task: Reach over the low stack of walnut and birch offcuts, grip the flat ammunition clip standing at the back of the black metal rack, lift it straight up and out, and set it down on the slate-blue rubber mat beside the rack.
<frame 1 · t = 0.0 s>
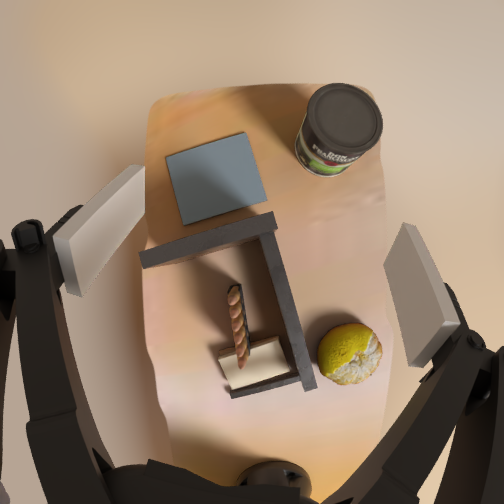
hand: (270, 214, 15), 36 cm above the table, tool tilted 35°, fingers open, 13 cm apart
ammunition clip: (240, 317, 52), on the table, touching offcut lower
rack: (240, 318, 51), on the table
coffee can: (324, 148, 51), on the table
fruit: (346, 350, 52), on the table
offcut upper: (254, 362, 50), point 1 cm above the table, tilted 6°, touching offcut lower
mat: (215, 178, 51), on the table
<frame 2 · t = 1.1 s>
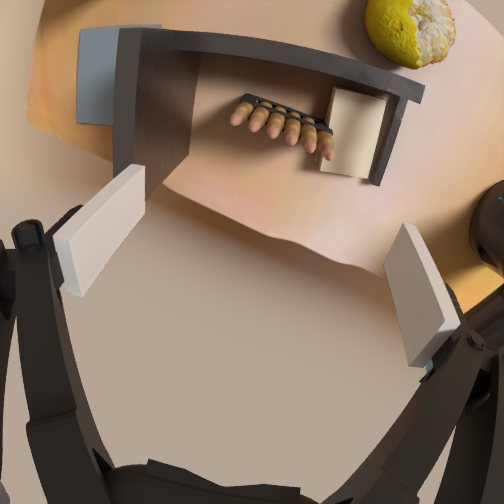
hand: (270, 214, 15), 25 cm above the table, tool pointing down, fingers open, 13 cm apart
ammunition clip: (286, 114, 35), on the table, touching offcut lower
rack: (287, 115, 35), on the table
fruit: (405, 24, 26), on the table
offcut upper: (350, 132, 34), point 1 cm above the table, tilted 6°, touching offcut lower
mat: (114, 75, 34), on the table
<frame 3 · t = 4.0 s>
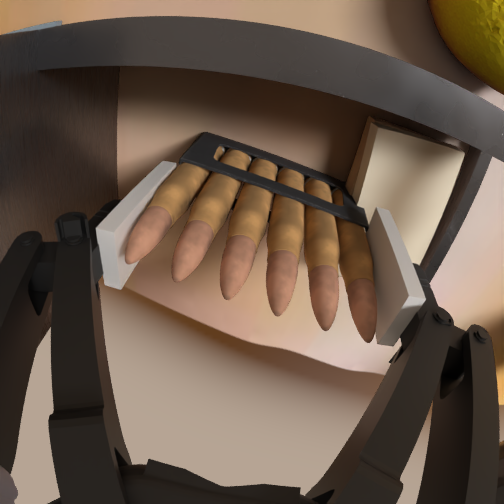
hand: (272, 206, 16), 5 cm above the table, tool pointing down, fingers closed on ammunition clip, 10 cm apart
ammunition clip: (278, 169, 20), on the table, touching gripper, offcut lower
offcut lower: (384, 198, 20), on the table, tilted 7°, touching ammunition clip, offcut upper
rack: (279, 172, 20), on the table
fruit: (489, 13, 11), on the table
offcut upper: (393, 207, 19), point 1 cm above the table, tilted 7°, touching offcut lower
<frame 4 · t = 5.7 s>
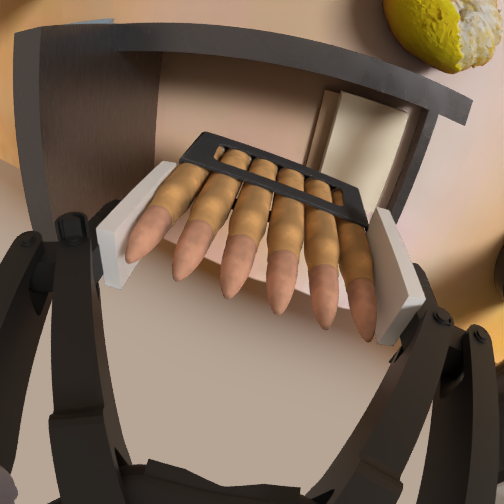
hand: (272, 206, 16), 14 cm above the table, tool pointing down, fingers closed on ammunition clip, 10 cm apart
ammunition clip: (278, 169, 20), point 8 cm above the table, touching gripper
offcut lower: (342, 147, 28), on the table
rack: (279, 132, 27), on the table
fruit: (434, 13, 18), on the table
offcut upper: (358, 151, 26), resting on offcut lower
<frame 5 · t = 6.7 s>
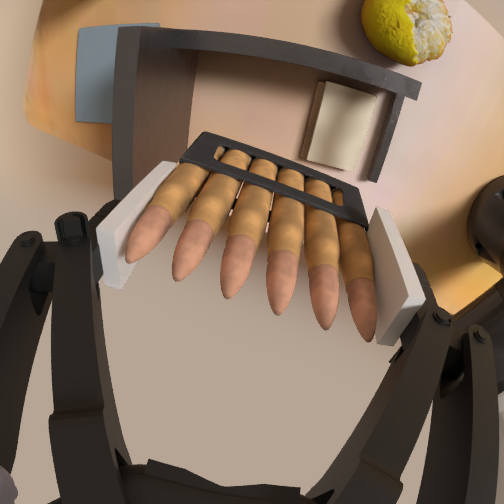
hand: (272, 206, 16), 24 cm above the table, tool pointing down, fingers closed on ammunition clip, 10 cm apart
ammunition clip: (278, 169, 20), point 19 cm above the table, touching gripper
offcut lower: (332, 124, 36), on the table, touching offcut upper
rack: (285, 112, 35), on the table
fruit: (401, 21, 26), on the table
offcut upper: (340, 125, 35), resting on offcut lower
mat: (113, 73, 34), on the table
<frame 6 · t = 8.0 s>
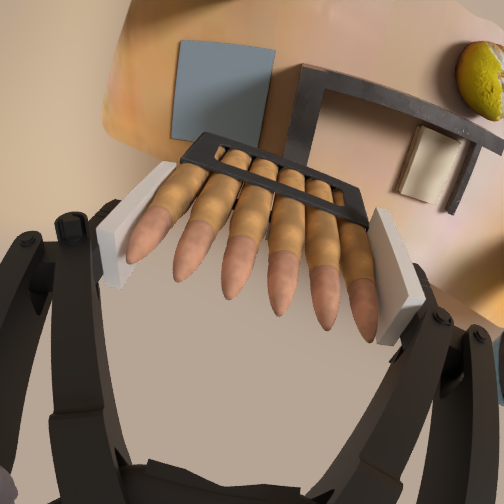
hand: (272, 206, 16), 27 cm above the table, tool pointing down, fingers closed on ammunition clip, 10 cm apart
ammunition clip: (279, 169, 20), point 22 cm above the table, touching gripper
offcut lower: (422, 162, 39), on the table, touching offcut upper
rack: (387, 151, 38), on the table
fruit: (483, 77, 29), on the table
offcut upper: (428, 164, 38), resting on offcut lower
mat: (220, 94, 37), on the table
when the fingers open (7 cm above the table, at t = 11.3 s): ammunition clip drops 1 cm, resting on mat.
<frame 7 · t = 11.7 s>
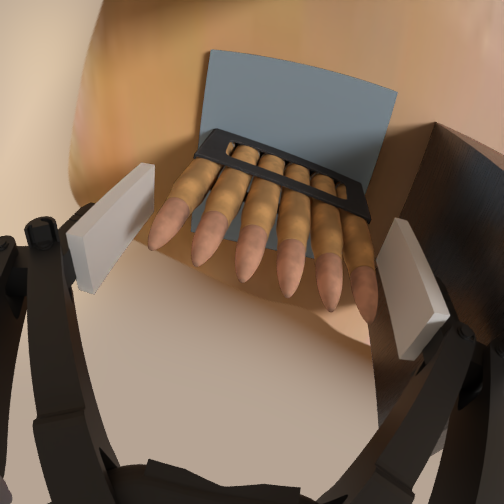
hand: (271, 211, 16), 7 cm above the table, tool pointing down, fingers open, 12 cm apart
ammunition clip: (285, 164, 21), resting on mat
mat: (284, 162, 21), on the table
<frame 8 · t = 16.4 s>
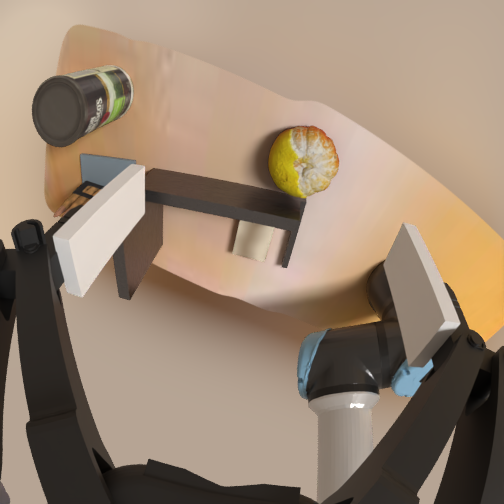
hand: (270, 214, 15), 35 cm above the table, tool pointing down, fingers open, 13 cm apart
ammunition clip: (108, 191, 56), resting on mat
rack: (223, 224, 57), on the table
coffee can: (108, 92, 45), on the table
fruit: (304, 155, 48), on the table
offcut upper: (254, 232, 57), resting on offcut lower
mat: (109, 190, 56), on the table
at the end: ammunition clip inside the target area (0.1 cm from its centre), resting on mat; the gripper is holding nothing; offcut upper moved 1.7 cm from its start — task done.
